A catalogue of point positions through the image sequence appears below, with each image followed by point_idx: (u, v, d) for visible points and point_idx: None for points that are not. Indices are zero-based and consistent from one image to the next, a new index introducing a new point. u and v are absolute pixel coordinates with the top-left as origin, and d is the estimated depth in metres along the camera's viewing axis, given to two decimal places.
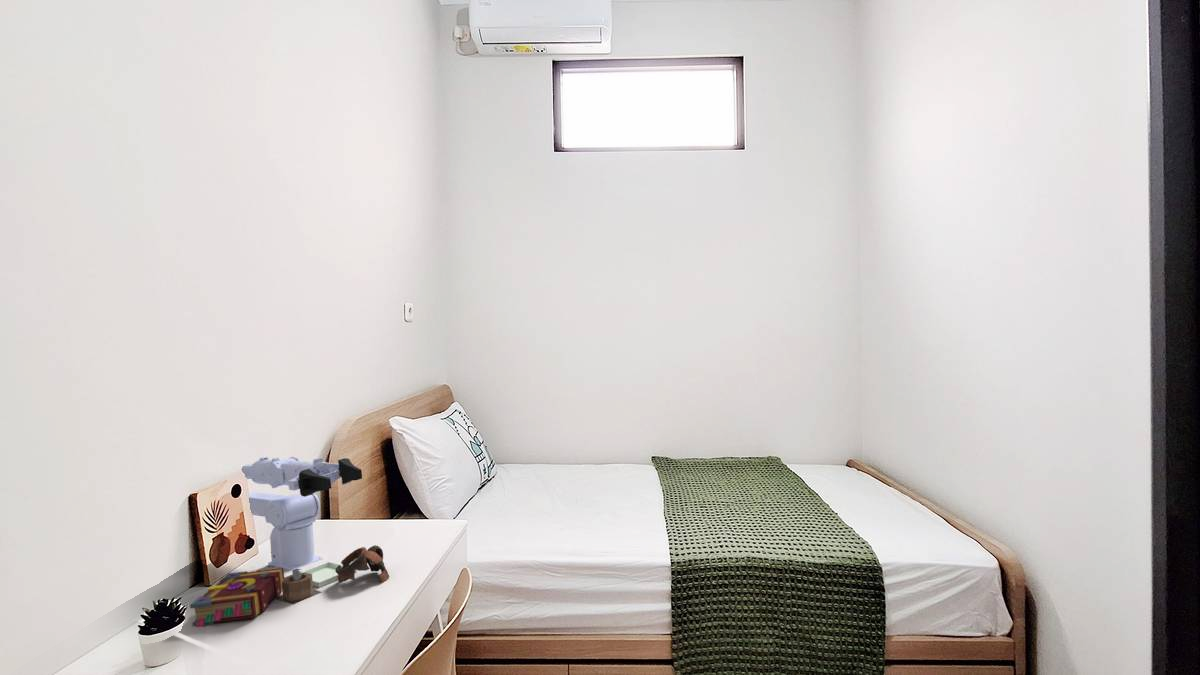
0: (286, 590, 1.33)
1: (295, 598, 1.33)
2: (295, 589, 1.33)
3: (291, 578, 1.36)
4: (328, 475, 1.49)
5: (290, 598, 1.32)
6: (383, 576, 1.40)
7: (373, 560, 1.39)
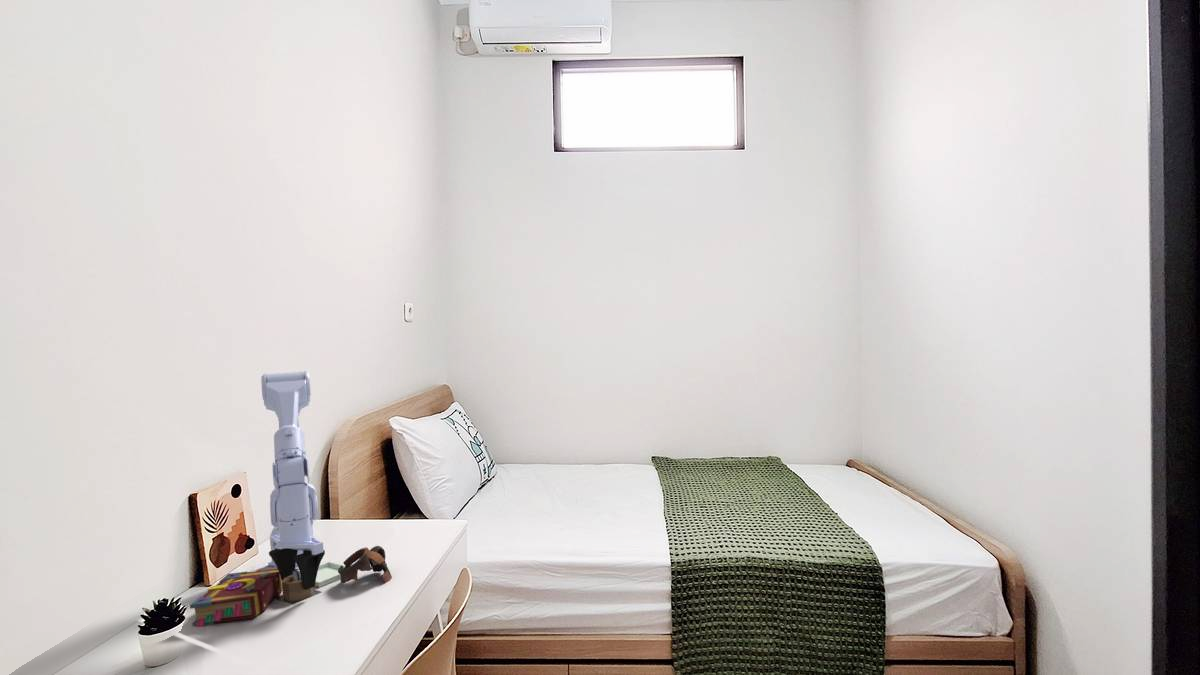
0: (286, 590, 1.33)
1: (295, 598, 1.33)
2: (295, 589, 1.33)
3: (291, 578, 1.36)
4: None
5: (290, 598, 1.32)
6: (385, 577, 1.40)
7: (376, 560, 1.39)
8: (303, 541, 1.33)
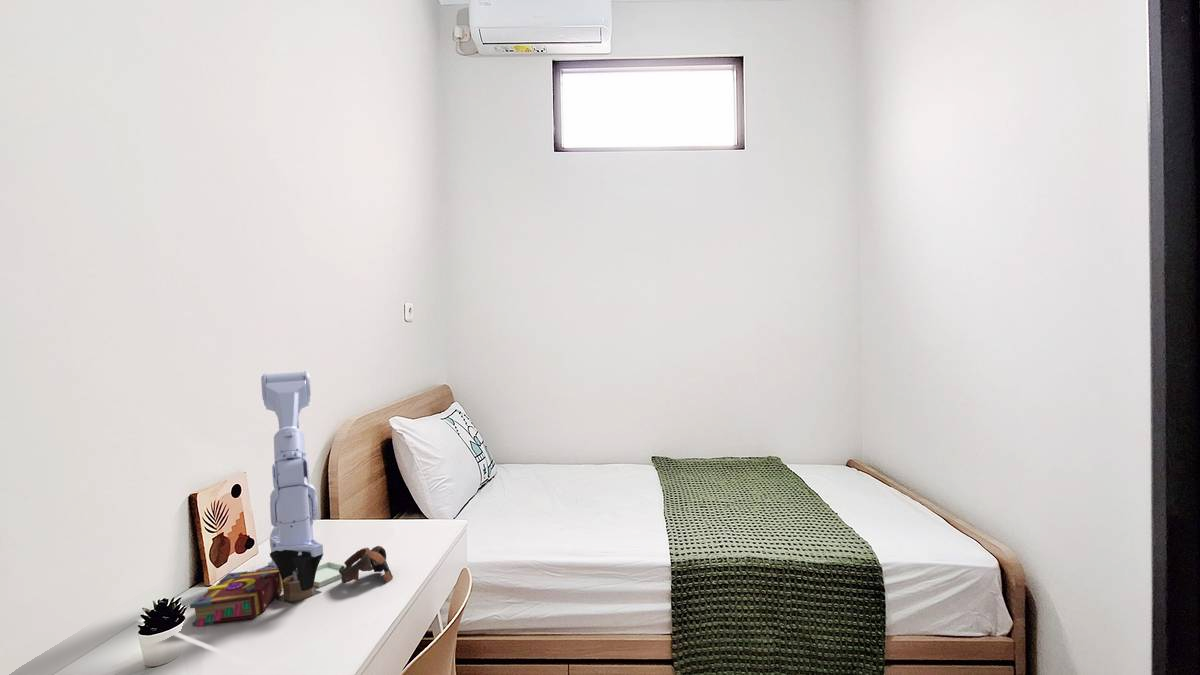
0: (287, 590, 1.33)
1: (296, 598, 1.33)
2: (296, 589, 1.33)
3: (292, 578, 1.36)
4: None
5: (291, 598, 1.32)
6: (387, 577, 1.39)
7: (377, 560, 1.39)
8: (303, 543, 1.33)
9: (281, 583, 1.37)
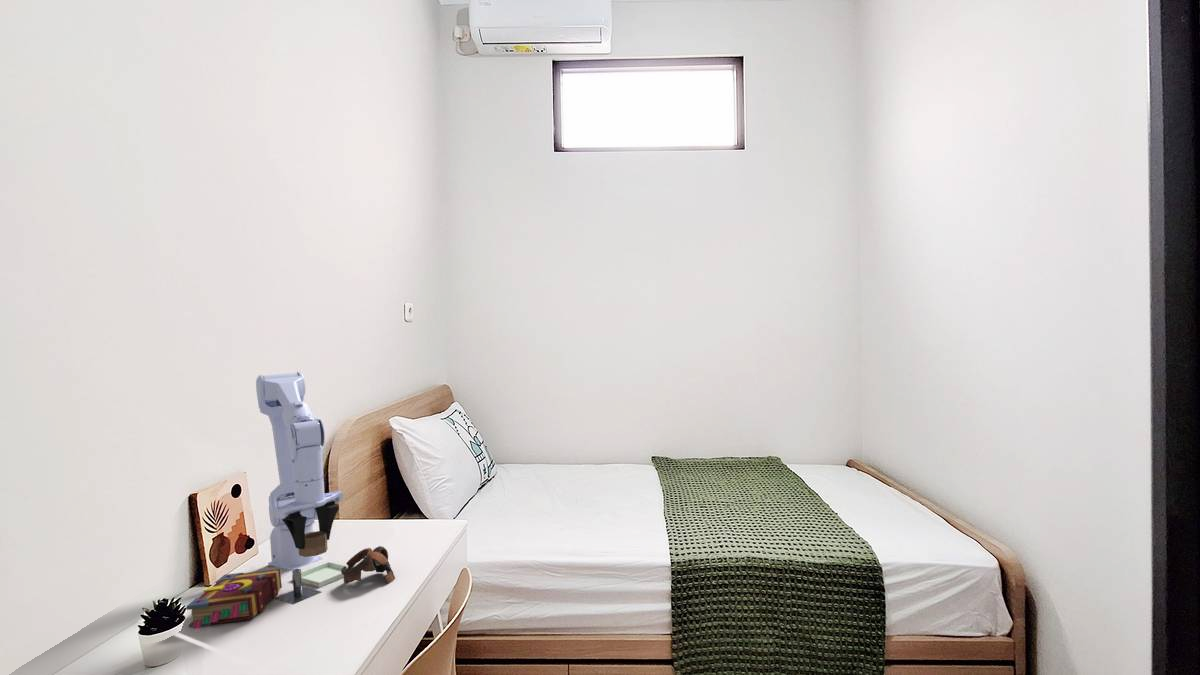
0: (321, 544, 1.40)
1: (326, 548, 1.41)
2: (326, 540, 1.41)
3: None
4: None
5: (325, 549, 1.40)
6: (389, 577, 1.39)
7: (379, 561, 1.39)
8: None
9: (278, 584, 1.37)
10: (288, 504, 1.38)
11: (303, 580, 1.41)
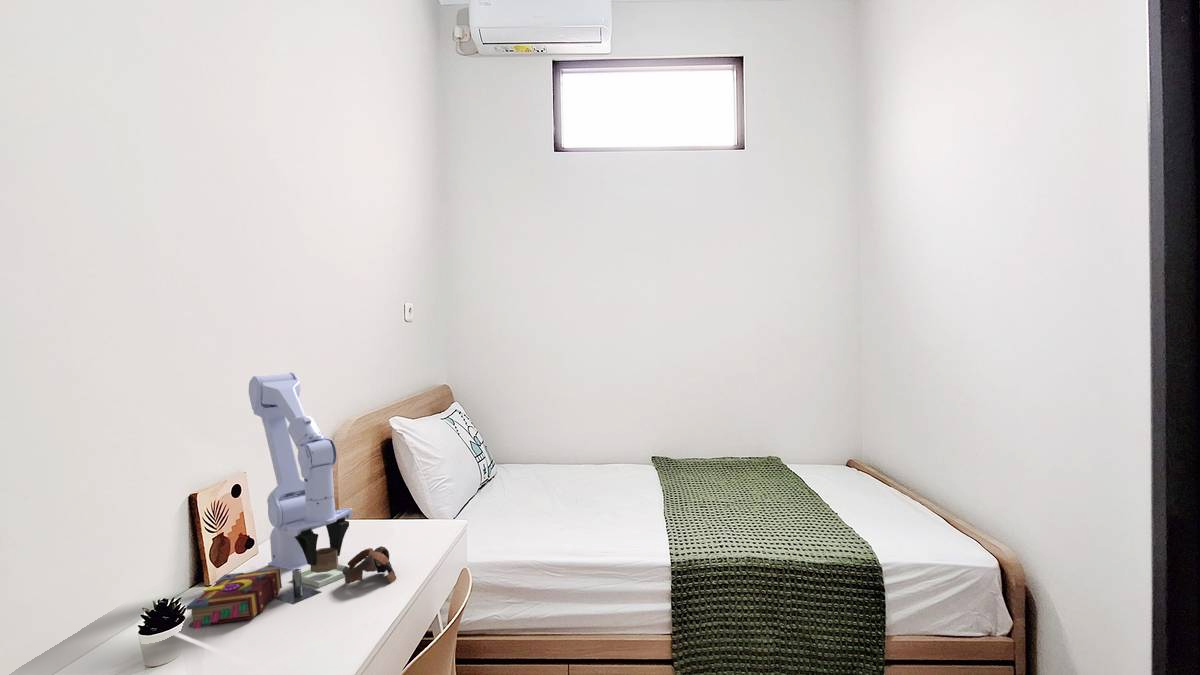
0: (332, 560, 1.44)
1: (337, 564, 1.45)
2: (337, 556, 1.45)
3: None
4: None
5: (336, 565, 1.45)
6: (390, 577, 1.39)
7: (381, 561, 1.39)
8: None
9: (278, 584, 1.37)
10: (300, 522, 1.42)
11: (303, 580, 1.41)
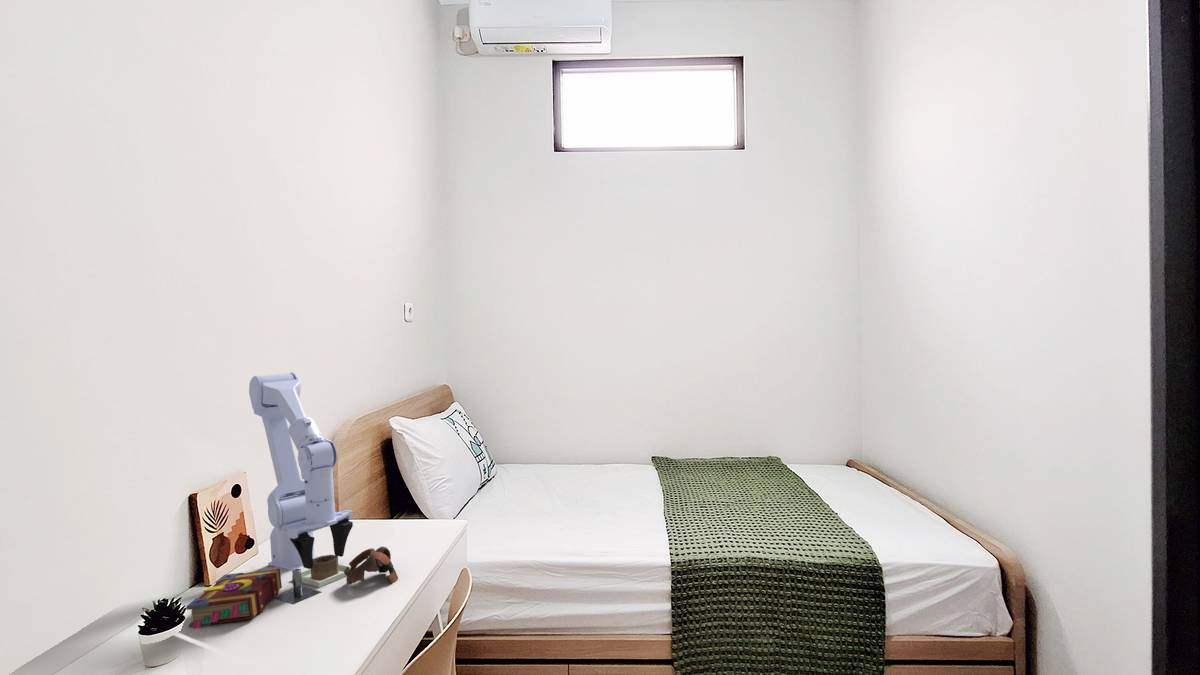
0: (333, 568, 1.44)
1: (338, 572, 1.45)
2: (337, 563, 1.46)
3: None
4: None
5: (337, 573, 1.45)
6: (392, 578, 1.39)
7: (382, 561, 1.39)
8: None
9: (278, 584, 1.37)
10: (300, 523, 1.42)
11: (303, 580, 1.41)
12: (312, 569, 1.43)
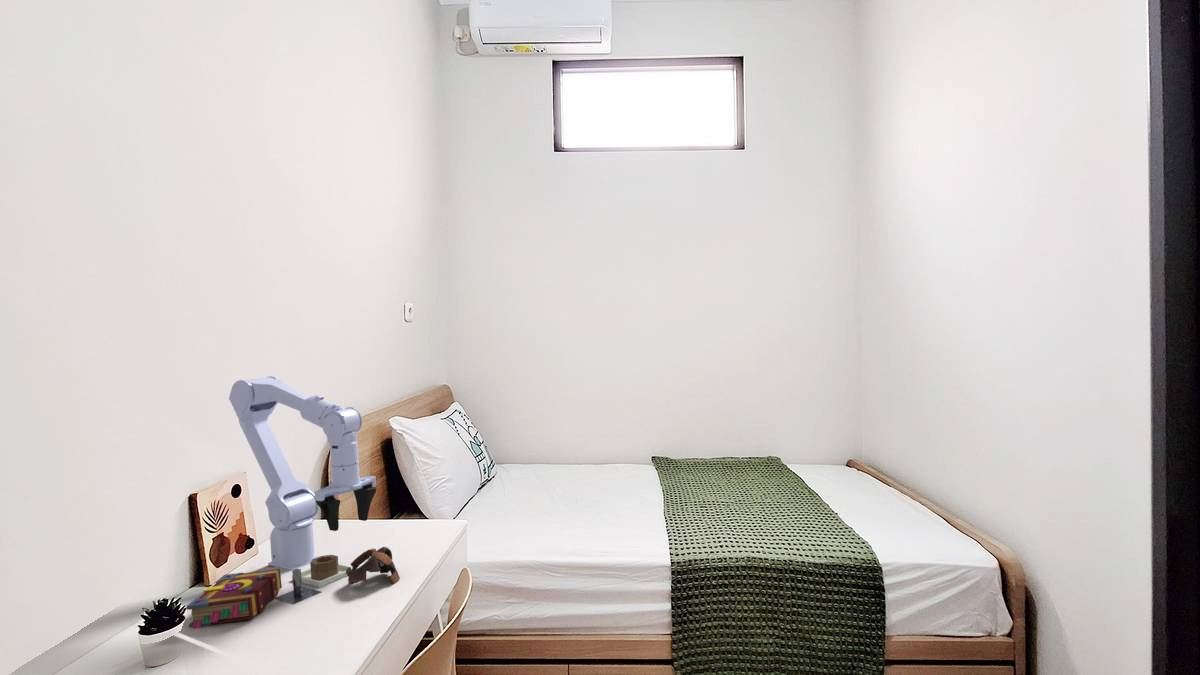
0: (333, 568, 1.44)
1: (338, 572, 1.45)
2: (337, 563, 1.46)
3: None
4: (350, 490, 1.50)
5: (337, 573, 1.45)
6: (394, 578, 1.39)
7: (384, 561, 1.38)
8: None
9: (278, 584, 1.37)
10: (326, 487, 1.47)
11: (303, 580, 1.41)
12: (312, 569, 1.43)
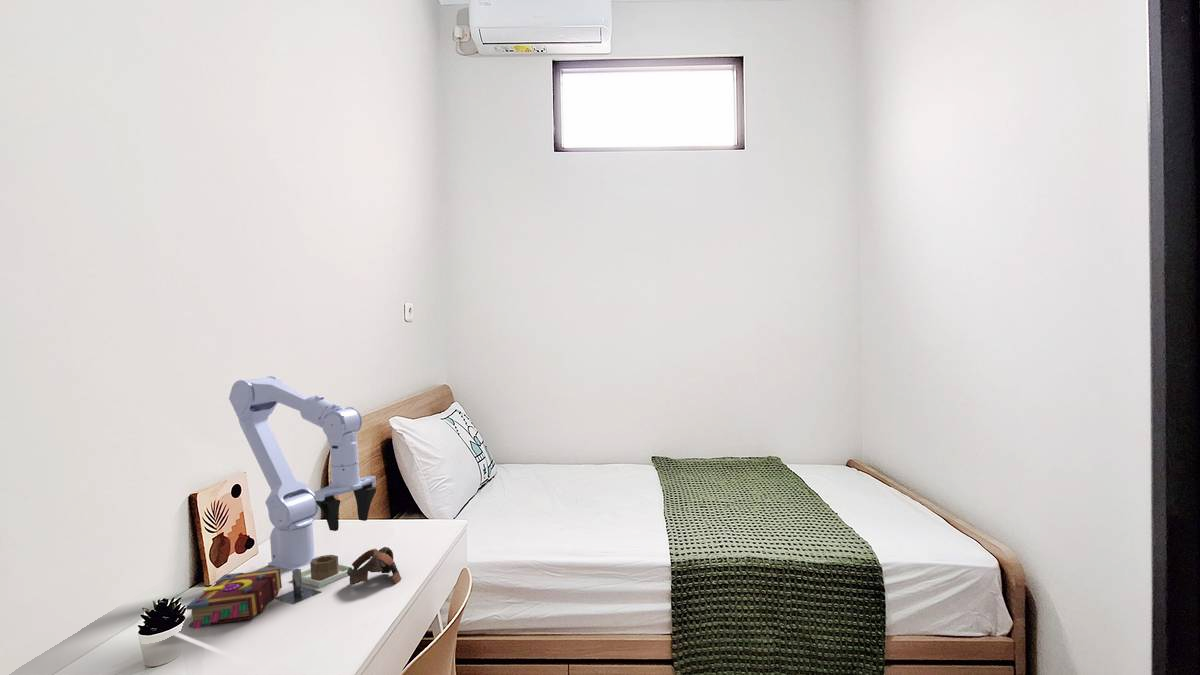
0: (333, 568, 1.44)
1: (338, 572, 1.45)
2: (337, 563, 1.46)
3: None
4: (350, 490, 1.50)
5: (337, 573, 1.45)
6: (395, 578, 1.39)
7: (386, 561, 1.38)
8: None
9: (278, 584, 1.37)
10: (326, 487, 1.47)
11: (303, 580, 1.41)
12: (312, 569, 1.43)
